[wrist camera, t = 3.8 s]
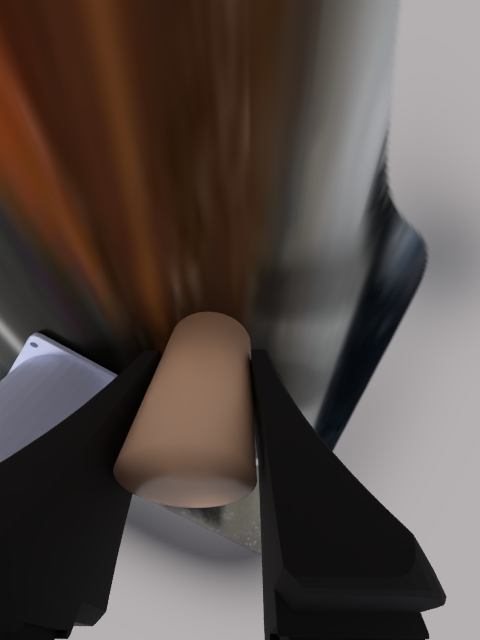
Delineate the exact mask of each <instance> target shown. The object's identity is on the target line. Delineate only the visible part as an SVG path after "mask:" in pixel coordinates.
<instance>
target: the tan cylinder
mask: <svg viewBox="0 0 480 640" xmlns="http://www.w3.org/2000/svg"><path fill="white" fill-rule="evenodd" d="M113 473H114V476H115V478H116V480H117V481H118V483H119V484H120V485H121V486H122V487H124V488H125V489H126V490H128V491H129V492H131V493H133V494H135V495H137V496H139V497H141V498H144V499H146V500H149V501H153V502H156V503H160V504H165V505H170V506H177V507H190V508H203V507H214V506H221V505H226V504H230V503H233V502H236V501H238V500H241V499H243V498H244V497H246V496H248V495H249V494H250V493H251V492H252V491H253V490H254V488H255V486H256V483H257V474H256V452H255V430H254V409H253V387H252V371H251V344H250V338H249V335H248V333H247V331H246V330H245V328H244V327H243V326H242V325H241V324H240V323H239V322H238V321H236V320H235V319H233V318H231V317H230V316H227V315H225V314H221V313H217V312H199V313H195V314H192V315H189V316H187V317H185V318H184V319H182V320H181V321H180V322H179V323H178V324H177V325H176V327H175V328H174V330H173V332H172V335H171V337H170V339H169V342H168V344H167V346H166V348H165V351H164V353H163V355H162V358H161V360H160V362H159V364H158V367H157V369H156V371H155V374H154V376H153V378H152V380H151V383H150V385H149V387H148V390H147V392H146V394H145V396H144V399H143V401H142V403H141V406H140V408H139V410H138V412H137V415H136V417H135V419H134V422H133V424H132V426H131V428H130V431H129V433H128V435H127V438H126V440H125V442H124V444H123V447H122V449H121V451H120V454H119V456H118V458H117V460H116V463H115V465H114V469H113Z"/></svg>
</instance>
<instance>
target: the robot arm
mask: <svg viewBox="0 0 480 640" xmlns="http://www.w3.org/2000/svg"><path fill="white" fill-rule="evenodd" d="M161 358H162V357H161V353H160V350H145V351H144V352H143V353H142V354H140V355H139V356H138V357H137V358H136V359H135V360H134V361H133V362H132V363H131V364H130V365H129V366H128V367H126V368H125V369H124V370H123V371H122V372H121V373H120V374H119V375H117V374H115V373H113V372H111V371H109V370H107V369H106V368H104V367H102V366H100V365H98V364H96V363H94V362H93V361H91V360H89V359H87V358H85V357H83V356H82V355H80V354H78V353H76V352H74V351H72V350H70V349H69V348H67V347H65V346H63V345H61V344H59V343H58V342H56V341H54V340H52V339H50V338H48V337H47V336H45V335H43V334H40V333H34V334H33V335H31V336H30V337H29V339H28V340H27V342H26V344H25V346H24V347H23V349H22V351H21V352H20V354H19V356H18V358H17V359H16V361H15V363H14V364H13V366H12V368H11V370H10V371H9V373H8V375H7V376H6V377H5V378H3V379H2V380H1V381H0V640H54V639H68V637H69V636H70V634H71V631H72V628H73V626H93V625H94V624H96V623H97V621H98V620H99V619H100V618H101V617H102V616H103V615H104V613H105V612H106V610H107V604H108V599H109V594H110V589H111V584H112V580H113V575H114V570H115V565H116V560H117V556H118V551H119V547H120V543H121V539H122V534H123V530H124V526H125V521H126V518H127V513H128V509H129V506H130V502H131V498H132V494H133V493H131V492H129V491H128V490H126V489H125V488H124V487H122V486H121V485H120V484H119V483H118V481H117V480H116V478H115V476H114V473H113V469H114V465H115V463H116V460H117V458H118V456H119V454H120V451H121V449H122V447H123V444H124V442H125V440H126V438H127V435H128V433H129V431H130V428H131V426H132V424H133V422H134V419H135V417H136V415H137V412H138V410H139V408H140V406H141V403H142V401H143V399H144V396H145V394H146V392H147V390H148V387H149V385H150V383H151V380H152V378H153V376H154V374H155V371H156V369H157V367H158V364H159V362H160V360H161ZM251 371H252V387H253V409H254V430H255V440H256V448H257V456H258V468H259V492H260V517H261V544H262V573H263V603H264V604H263V605H264V632H265V640H425V639H429V633H428V630H427V628H426V625H425V623H424V620H423V618H422V615H421V613H420V612H423V611H426V610H430V609H434V608H437V607H440V606H442V605H444V604H445V601H446V595H445V593H444V591H443V589H442V587H441V584H440V582H439V580H438V578H437V576H436V574H435V572H434V570H433V568H432V566H431V565H430V563H429V561H428V559H427V557H426V556H425V554H424V552H423V550H422V549H421V547H420V545H419V543H418V542H417V540H416V538H415V537H414V535H413V534H412V533H411V532H410V531H409V530H408V529H407V528H406V527H405V526H404V525H403V524H402V523H401V522H400V521H399V520H398V519H397V518H396V517H394V515H392V514H391V513H390V512H389V511H388V510H387V509H386V508H385V507H384V506H383V505H382V504H381V503H380V502H379V501H378V500H377V499H376V498H375V497H374V496H373V495H372V494H371V493H370V492H369V491H368V490H367V489H366V488H365V487H364V486H363V485H362V484H361V483H360V482H359V481H358V479H356V477H355V476H354V475H353V474H352V473H351V472H350V471H349V470H348V469H347V468H346V466H345V465H344V464H343V463H342V462H341V461H340V460H339V459H338V457H337V456H336V455H335V454H334V453H333V452H332V451H331V450H330V449H329V447H328V446H327V445H326V444H325V443H324V441H323V440H322V439H321V438H320V436H319V435H318V434H317V433H316V432H315V430H314V429H313V428H312V426H311V425H310V424H309V422H308V421H307V420H306V418H305V417H304V416H303V414H302V413H301V411H300V410H299V408H298V407H297V405H296V404H295V402H294V401H293V399H292V398H291V396H290V395H289V393H288V391H287V390H286V388H285V386H284V385H283V383H282V381H281V379H280V378H279V376H278V374H277V372H276V370H275V368H274V366H273V364H272V362H271V359H270V357H269V354H268V352H267V351H266V350H251Z"/></svg>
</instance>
